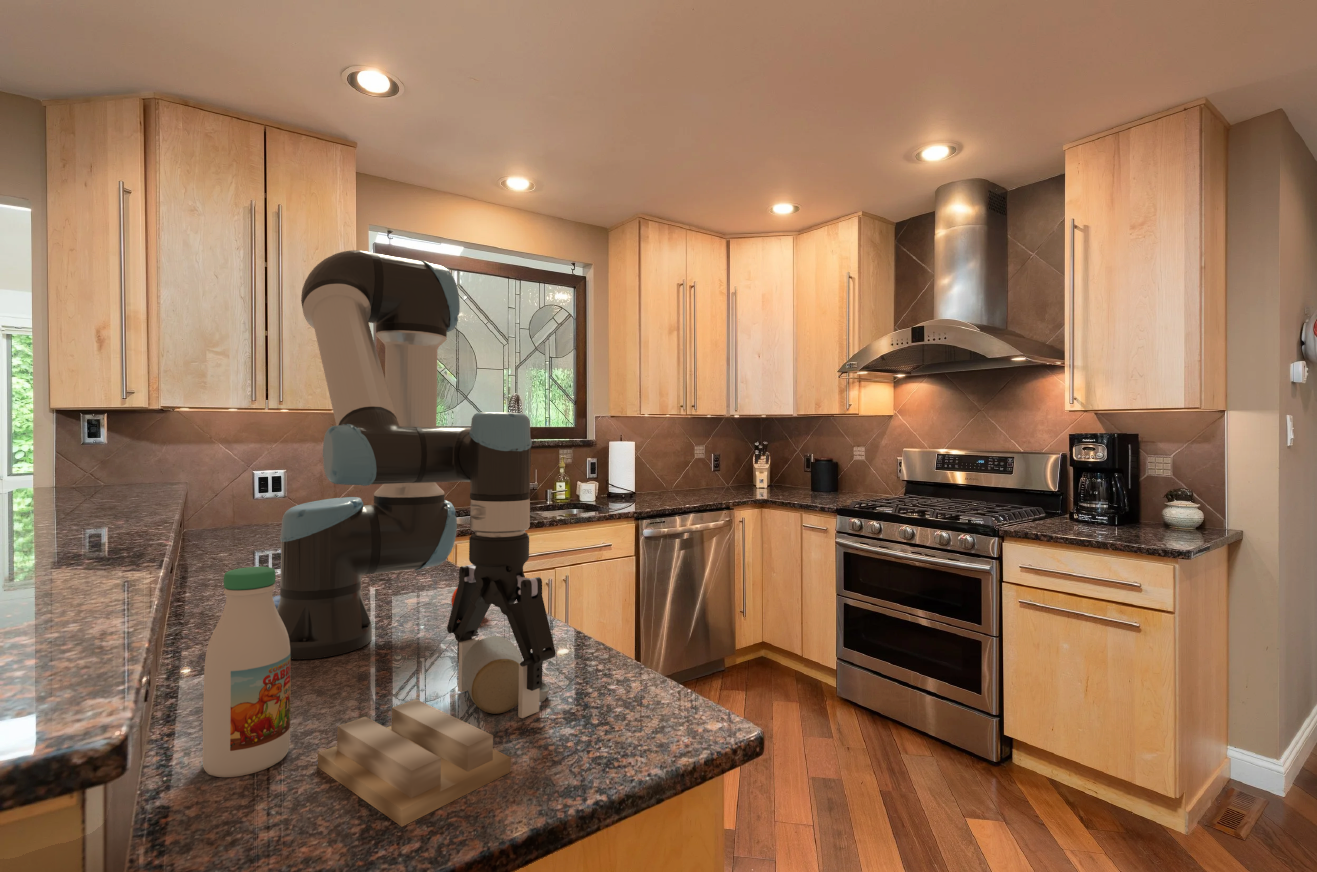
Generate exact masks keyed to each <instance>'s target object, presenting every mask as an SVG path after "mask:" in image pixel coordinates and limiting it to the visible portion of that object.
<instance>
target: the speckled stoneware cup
mask: <svg viewBox="0 0 1317 872" xmlns="http://www.w3.org/2000/svg"><path fill="white" fill-rule="evenodd" d="M522 661H523V657H522V655H521V652H520V650H519V648H517V646H516V645H515V644H514V643H513V642H512V641H511V640H509V639H508V638H505V637H502V636H498V635H497V636H496V635H495V636H492V635H491V636H487V637H484V638H482V639H479V641H478V642H476V643H475V644H474V645H473V646H472V647H471V648H470V649H469V650H468V652H467V653H466V655H465V657H464V661H463V666H462V672H463V677H464V680H465V683H466V686H467V688H468V691H467V692H468V694H469V697H470V698H471V701H472V702H473V704H475V706H476V707H477V708H479V710H481V711H483V712H485V713H488V714H495V715H497V714H502V713H503V714H504V713H507V712H508V711H510V710H512V709H515V707H516V706H518V695H519V663H521V662H522ZM549 691H550V687H549V685H548V684H547V683H546V682H545V681H544V680H543V679H542V686H541V688H540V690H539V703H543V702H544V701H546V698H547V696H548V694H549Z"/></svg>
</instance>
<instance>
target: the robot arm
mask: <svg viewBox="0 0 1317 872" xmlns="http://www.w3.org/2000/svg"><path fill="white" fill-rule="evenodd" d="M309 272H310V273H309V274H308V276H307V277H306V278H305V281H304V284H303V285H302V286H303V287H302V290H301V299H300V301H301V308H302V312H303V316H304V320H305V321H306V322H307V323H308V325H309V326H311V328H312V329H314V333H315V337H316V341H317V346H318V350H319V354H320V360H321V363H322V368H323V372H324V373H323V374H324V377H325V381H326V385H327V390H328V394H329V399H330V403H331V407H332V412H333V417H334V421H335V425H332V426H330V427H328V428H327V430H326V432H325V434H324V436H323V437H324V438H323V444H322V458H323V471H324V474H325V476H326V479H327V480H328V481H329V482H331V483H332V484H335V485H344V486H345V485H348V486H363V487H365V486H370V485H381V486H379V488H378V489H377V490H375V492H374V493H373V504H367V505H366V504H365V505H364V501H363V500H362V498H361V497H357V496H346V497H335V498H333V497H332V498H327V499H325V498H324V499H321V500H319V499H318V500H314V501H308V502H304V503H301V504H297V505H294V506H292V507H290V508H288V509H287V510H286V511H285V512H284V514H283V515H282V519H281V529H280V535H279V542H280V581H279V582H280V584H279V585H280V590H279V591H280V592H279V595H280V602H279V605H278V608H277V612H278V614H279V616H280V618H281V619H282V621H283V623H284V625H285V627H286V630H287V633H288V636H289V642H290V656H291V660H313V659H321V658H322V659H323V658H328V657H329V658H330V657H334V656H339V655H342V654H348V653H350V652H353V651H356V650H359V649H361V648H363V647H365V646H367V645H368V644H370V642H371V641H372V639H373V638H372V637H373V635H372V634H373V627H372V625H373V624H372V621H371V619H370V616H369V613H368V609H367V607H366V604H365V601H364V599H363V596H362V586H361V585H362V576H368V575H377V574H384V573H390V572H391V573H392V572H401V571H409V570H410V571H411V570H414V571H420V570H423V569H426V568H433V567H437V566H440V565H442V564H443V563H444V562H446V560H447V559H448V558H449V556H450V555H451V552H452V551H453V548H454V544H455V541H456V537H457V536H456V535H457V529H458V528H457V527H458V522H457V519H458V518H457V516H456V513H457V512H456V508H455V507H454V505H453V503H452V502H451V501H448V500H446V499H445V491H444V490H443V489H442V488H441V487H440V486H439V485H438V483H455V482H456V483H457V482H458V483H459V482H460V483H461V482H465V483H466V482H468V483H469V485H470V487H469V488H470V489H469V490H470V493H469V499H470V507H469V508H470V511H469V512H470V513H469V515H470V516H469V518H470V519H469V529H470V530H471V531H473V533H472V534H470V536H469V538H468V542H469V543H468V544H469V545H468V549H469V550H468V559H469V562H470V564H467V565H461V566H460V567H459V571H458V585H457V587H458V588H457V587H456V588H457V592H456V595H455V599H454V603H453V607H452V606H451V612H450V616H449V619H448V622H447V626H446V630H447V633H448V634H453V635H454V638H455V640H456V641H457V662H458V663H457V664H458V681H457V683H458V686H457V688H458V689H457V690H458V692H459V693H465V692H469V691H468V688H467V686H466V683H465V680H464V677H463V672H462V666H463V661H464V657H465V655H466V653H467V652H468V650H469V649H470V648H471V647H472V646H473V645H474V644H475V643H476V642H478V641H479V640H480V638H478V637H477V636H479V635H480V633H479V632H478V630H479V628H480V626H481V624H482V623H483V621H484V618H485V617H486V615H487V614H488V613H487V612H488V611H489V609H490V607H491V606H492V605H493V606H494V607H497V608H499V609H500V612H501V613H502V615H505V616H506V618H507V620H508V624H509V626H510V628H511V631H512V634H513V636H514V639H515V641H516V643H517V646H518V650H519V653H520V655H521V658H522V662H521V663H519V695H518V705H517V706H518V707H517V708H518V709H517V712H518V713H517V717H519V718H521V719H524V718H526V717H528V716H532V715H534V714H535V713H538V712H540V702H539V690H540V688H541V686H542V680H543V663H544V662H545V661H547V660H550V659H553V658H555V657H556V648H555V643H554V639H553V636H552V635H553V634H552V631H551V628H550V623H549V619H548V615H547V614H548V613H547V611H546V605H545V602H544V601H545V600H544V598H543V579H542V578H541V577H540V576H537V577H532V578H531V577H530V578H529V577H526V576H525V574H524V565H525V564H526V563H527V562H528V561H529V558H530V535H529V534H528V532H526V531H527V530H529V528H530V526H531V504H530V503H531V500H530V499H531V498H530V497H531V496H530V492H531V460H532V459H531V458H532V444H533V441H532V438H531V419H530V418H529V416H528V415H526V414H525V413H521V412H504V411H503V412H497V411H496V412H495V411H494V412H493V411H491V412H490V411H489V412H488V411H482V412H476V413H474V414H473V416H472V417H471V422H470V423H471V424H470V426H469V427H468V426H467V427H461V426H459V427H440V426H439V427H438V426H437V422H438V421H437V420H438V419H437V414H438V410H437V407H438V404H437V403H438V349H439V347H441V346H442V344H444V343H445V342H446V341H447V339H448V338H447V335H448V333H450V332H452V331H454V330H455V329H456V327H457V325H458V323H459V322H458V321H459V317H458V316H460V312H461V309H460V308H461V305H460V303H461V302H460V296H459V294H460V293H459V289H458V285H457V282H456V280H455V278H454V276H453V275H452V273H451V271H450V270H449V269H447V268H446V267H444V266H442V265H440V264H434V263H430V262H427V261H426V260H423V259H421V260H418V259H412V258H411V259H410V258H405V257H399V256H391V255H385V254H381V253H375V252H370V251H365V250H359V249H358V250H357V249H356V250H354V249H353V250H345V251H340V252H338V253H334V254H332V255H330V256H328V257H326V258H324V259H323V260H321V261H320V262H319V263H317V264H316V266H314V267H313V269H312V270H311V271H309ZM370 323H371V324H375V336H376V337H377V338H378V339H379V340H380V341H381V343H383V344H384V347H385V349H384V350H385V351H384V352H385V354H384V355H385V356H384V357H385V358H384V361H385V362H384V364H385V365H384V367H385V368H384V371H383V368H382V364H381V360H380V358H379V354H378V350H377V347H376V342H375V340H374V337H373V334H372V330H371V327H370Z"/></svg>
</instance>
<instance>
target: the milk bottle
mask: <svg viewBox="0 0 1317 872" xmlns="http://www.w3.org/2000/svg"><path fill="white" fill-rule="evenodd" d="M276 575H277V574H276V570H275V568H273V567H270V566H247V567H239V568H234V569H231V570H228V571H226V572H225V573H224V575H223V588H224V591H223V594H224V595H225V596H226V599H225V605H224V608H223V610H222V614H221V616H220V618H219V620H218V622H217V624H216V626H215V628H214V630H213V632H212V634H211V636H210V638H209V641H208V644H207V648H206V651H205V652H206V653H205V657H204V670H203V671H204V673H203V700H202V701H203V705H202V706H203V709H202V710H203V712H202V768H203V769H204V771H205V773H207V774H208V775H209V776H211V777H215V778H216V777H218V778H235V777H243V776H246V775H251V774H255V773H258V772H261V771H264V770H266V769H268V768H270V767H273V766H274V765H276V764H279V762H281V761H282V760H283V759H284V758H285V757H286V756H287V753H288V752H289V749H290V743H291V742H290V741H291V696H292V695H291V691H292V690H291V686H292V685H291V684H292V683H291V679H292V678H291V677H292V675H291V674H292V673H291V671H292V670H291V668H292V667H291V665H292V664H291V661H292V659H291V656H290V642H289V636H288V633H287V630H286V627H285V625H284V623H283V621H282V619H281V618H280V616H279V614H278V612H277V609H276V607H275V603H274V600H273V597H274V596H273V593H274V590H275V589H276Z"/></svg>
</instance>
